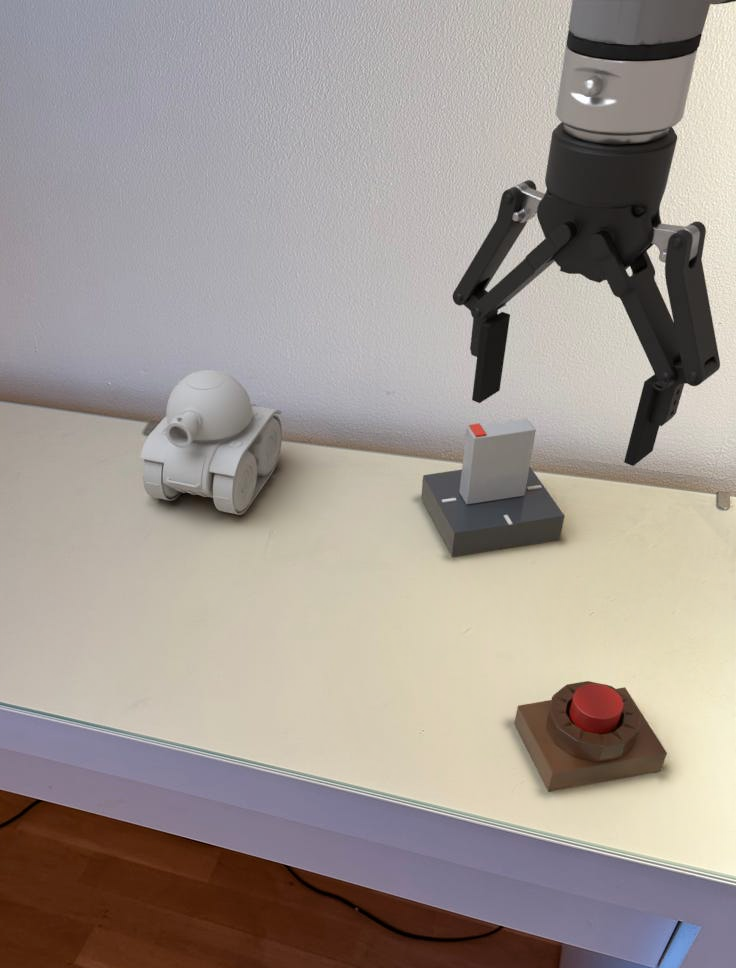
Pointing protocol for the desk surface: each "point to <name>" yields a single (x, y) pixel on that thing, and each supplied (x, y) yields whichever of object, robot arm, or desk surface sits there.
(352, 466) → the desk surface
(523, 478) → the grey rectangular block
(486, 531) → the plate
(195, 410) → the toy tank
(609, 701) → the button
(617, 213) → the robot arm
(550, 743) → the button block
